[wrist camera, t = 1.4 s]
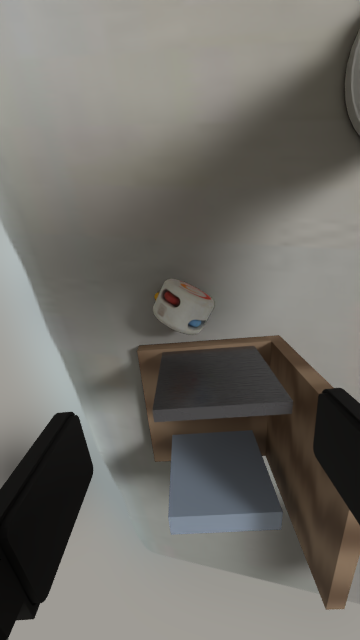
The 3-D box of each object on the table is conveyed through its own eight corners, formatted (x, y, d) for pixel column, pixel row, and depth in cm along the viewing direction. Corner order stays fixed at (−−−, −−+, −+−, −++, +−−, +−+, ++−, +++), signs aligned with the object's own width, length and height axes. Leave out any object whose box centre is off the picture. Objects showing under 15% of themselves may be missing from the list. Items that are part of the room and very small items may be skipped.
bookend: (162, 352, 28) (152, 410, 18) (254, 345, 27) (293, 401, 18) (163, 360, 28) (154, 422, 18) (254, 354, 28) (291, 413, 18)
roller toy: (197, 327, 28) (201, 348, 23) (150, 305, 27) (142, 322, 22) (214, 295, 27) (223, 309, 21) (165, 271, 26) (160, 280, 20)
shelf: (139, 345, 29) (93, 460, 14) (279, 335, 28) (391, 443, 13) (156, 452, 35) (136, 615, 20) (272, 446, 34) (344, 609, 19)
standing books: (172, 434, 32) (168, 517, 22) (252, 430, 31) (282, 511, 22) (175, 460, 33) (172, 547, 24) (251, 455, 33) (279, 542, 23)
